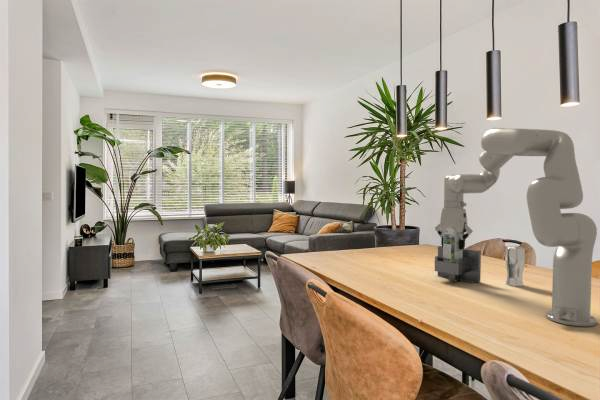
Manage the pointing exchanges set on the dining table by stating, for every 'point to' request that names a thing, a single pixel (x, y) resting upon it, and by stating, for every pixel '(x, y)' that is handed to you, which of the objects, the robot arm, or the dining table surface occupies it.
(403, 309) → the dining table surface
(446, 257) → the syrup box
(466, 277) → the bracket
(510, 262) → the beer glass
